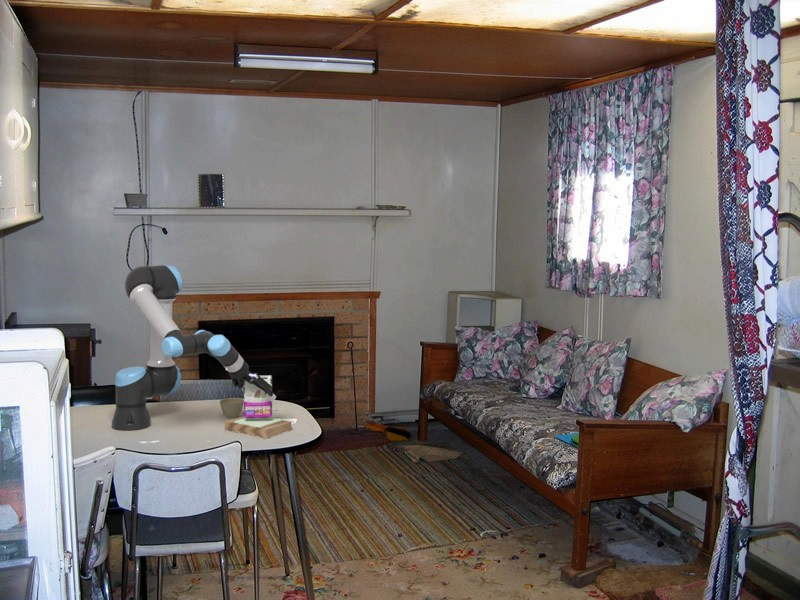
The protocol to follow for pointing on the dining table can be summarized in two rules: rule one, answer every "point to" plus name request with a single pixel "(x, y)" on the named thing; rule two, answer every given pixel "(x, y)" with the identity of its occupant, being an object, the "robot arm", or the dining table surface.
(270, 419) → the mat
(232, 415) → the flower pot
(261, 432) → the brown flat block
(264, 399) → the candy bar box
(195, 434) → the dining table surface
